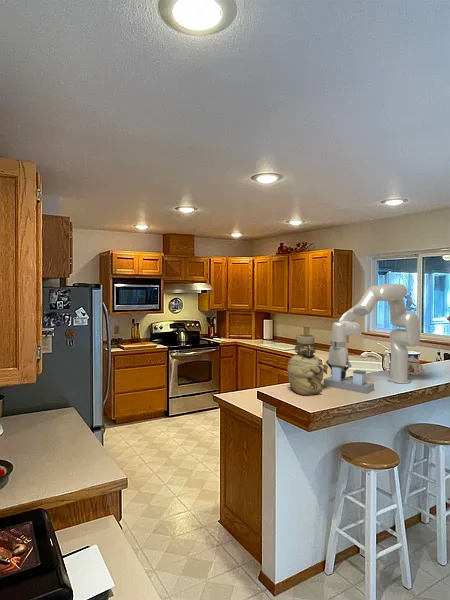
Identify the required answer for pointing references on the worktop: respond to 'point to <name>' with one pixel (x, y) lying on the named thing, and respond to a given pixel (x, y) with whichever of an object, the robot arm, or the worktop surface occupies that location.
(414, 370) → the teacup with lid
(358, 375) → the twin plug
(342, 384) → the grey slotted holder
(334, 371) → the plug
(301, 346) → the ceramic vessel
